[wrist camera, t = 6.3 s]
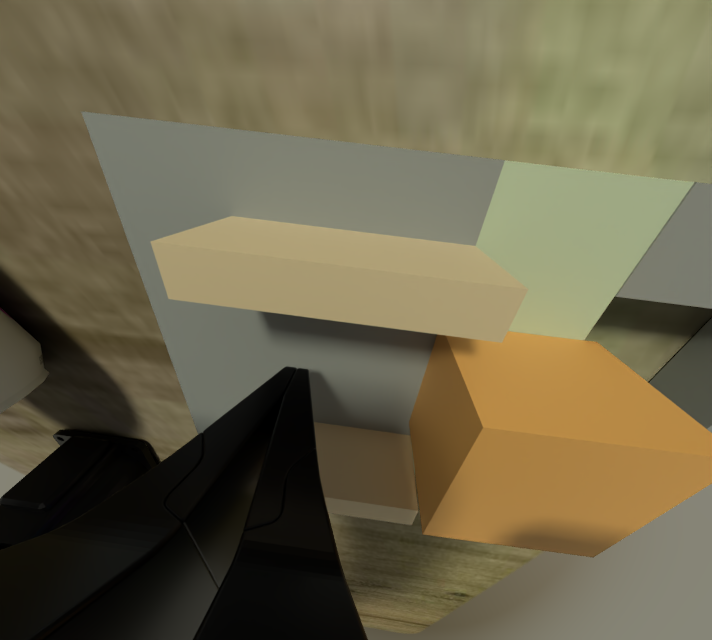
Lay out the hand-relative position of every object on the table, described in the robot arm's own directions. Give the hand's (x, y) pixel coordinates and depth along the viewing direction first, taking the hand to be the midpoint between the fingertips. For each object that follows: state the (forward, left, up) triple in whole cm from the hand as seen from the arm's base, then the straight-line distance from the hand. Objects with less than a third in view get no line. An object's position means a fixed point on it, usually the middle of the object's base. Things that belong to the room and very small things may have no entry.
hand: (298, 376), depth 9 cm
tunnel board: (0, -5, -3) cm, 6 cm away
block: (0, -7, -1) cm, 7 cm away
